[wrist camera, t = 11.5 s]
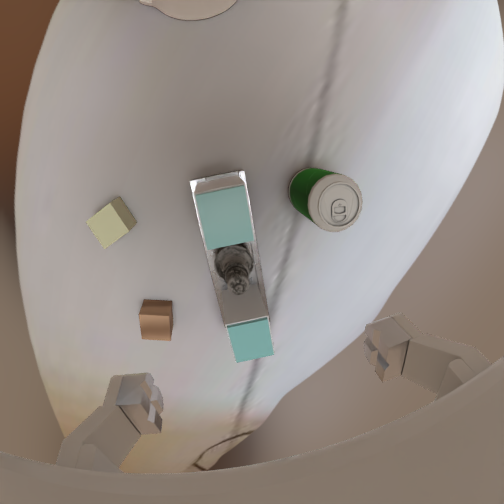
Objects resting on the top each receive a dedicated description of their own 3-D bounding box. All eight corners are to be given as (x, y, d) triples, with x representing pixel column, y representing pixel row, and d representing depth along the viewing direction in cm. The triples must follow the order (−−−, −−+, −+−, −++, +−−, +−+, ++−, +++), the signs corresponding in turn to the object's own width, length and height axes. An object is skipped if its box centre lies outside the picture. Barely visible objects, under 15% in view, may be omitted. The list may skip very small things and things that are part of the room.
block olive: (97, 213, 42) (85, 221, 37) (120, 196, 42) (110, 202, 37) (114, 238, 44) (104, 249, 39) (137, 222, 43) (129, 231, 39)
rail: (190, 180, 42) (189, 182, 40) (242, 169, 43) (244, 170, 41) (224, 323, 52) (225, 330, 50) (267, 314, 53) (270, 321, 50)
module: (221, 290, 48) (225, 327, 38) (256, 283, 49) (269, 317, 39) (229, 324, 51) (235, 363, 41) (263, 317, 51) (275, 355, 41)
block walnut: (144, 299, 48) (138, 314, 44) (172, 300, 49) (169, 316, 44) (146, 322, 50) (142, 339, 45) (173, 324, 51) (170, 340, 46)
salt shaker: (253, 239, 46) (267, 271, 35) (247, 274, 48) (259, 313, 37) (215, 235, 45) (218, 266, 34) (211, 270, 47) (213, 310, 36)
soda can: (287, 215, 46) (312, 237, 35) (285, 168, 44) (310, 176, 33) (331, 210, 47) (365, 231, 36) (329, 166, 45) (366, 174, 33)
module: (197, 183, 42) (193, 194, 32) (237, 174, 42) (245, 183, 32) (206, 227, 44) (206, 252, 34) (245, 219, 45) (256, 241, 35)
